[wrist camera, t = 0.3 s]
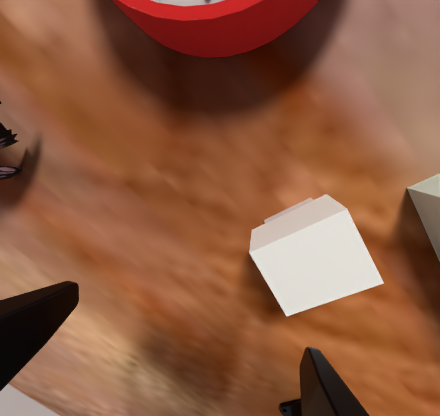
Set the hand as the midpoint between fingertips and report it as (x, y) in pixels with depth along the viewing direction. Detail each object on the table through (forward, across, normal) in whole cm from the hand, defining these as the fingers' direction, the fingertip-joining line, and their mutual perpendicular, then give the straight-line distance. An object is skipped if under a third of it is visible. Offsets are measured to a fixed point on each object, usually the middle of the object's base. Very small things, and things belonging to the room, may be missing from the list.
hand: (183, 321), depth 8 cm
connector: (+14, -6, -1) cm, 15 cm away
